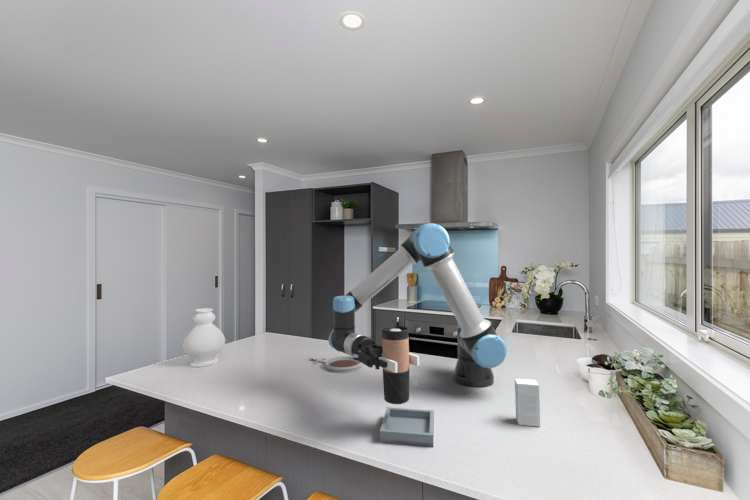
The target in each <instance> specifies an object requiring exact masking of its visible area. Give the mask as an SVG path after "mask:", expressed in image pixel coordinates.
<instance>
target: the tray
mask: <svg viewBox="0 0 750 500" xmlns="http://www.w3.org/2000/svg"><path fill="white" fill-rule="evenodd" d="M434 414H435V413H434V410H433V409H432V410H431V409H420V408H419V409H418V408H404V407H392V406H391V407H386V409H385V413H384V416H383V420H382V422H381V426H380V429H379V443H385V444H396V445H407V446H416V447H427V448H434V440H435V439H434V431H435V429H434V428H435V417H434V416H435V415H434Z"/></svg>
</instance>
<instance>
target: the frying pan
mask: <svg viewBox="0 0 750 500" xmlns="http://www.w3.org/2000/svg"><path fill="white" fill-rule="evenodd" d="M308 360H309V361H310V362H311V361H312V362H314V363H313V364H314V365H316V364H317V363H324V366H325V368H326V370H327V371H329V372H332V373H339V374H340V373H343V374H345V373H351V372H356V371H358V370H360V369H361V368H362V366H363V365H364V364H363V363H361V362H360V361H358V360H354V357H353V356H350V355H341V356H334V357H331V358H328V359H327V357H322V358H319V359H318V358H317V359H316V358H313V357H309V359H308Z"/></svg>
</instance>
